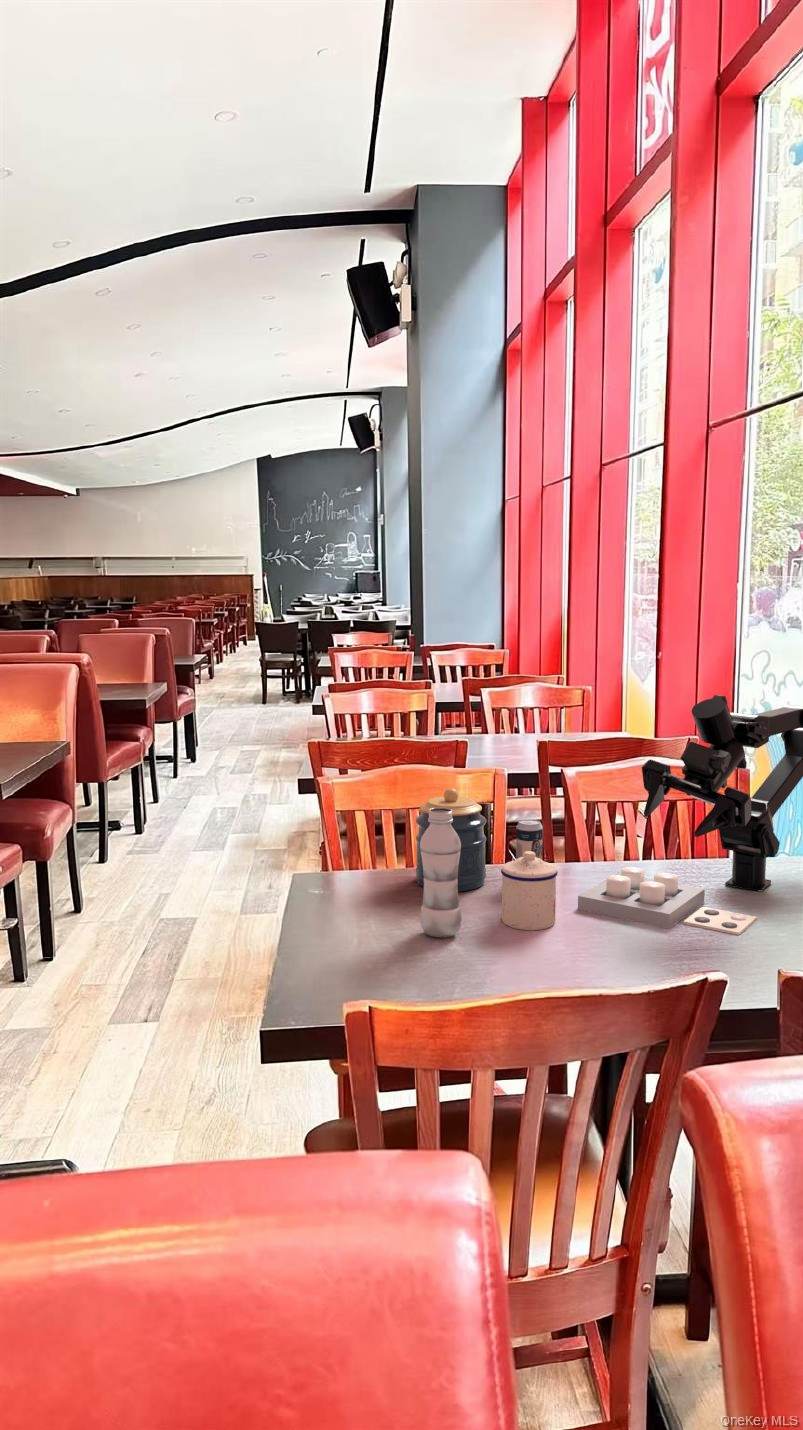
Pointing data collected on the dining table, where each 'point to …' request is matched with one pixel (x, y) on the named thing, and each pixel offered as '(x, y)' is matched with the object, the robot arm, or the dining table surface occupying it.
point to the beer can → (529, 838)
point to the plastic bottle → (440, 875)
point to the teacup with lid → (528, 893)
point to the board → (642, 905)
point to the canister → (469, 833)
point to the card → (720, 920)
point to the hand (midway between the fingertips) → (669, 824)
